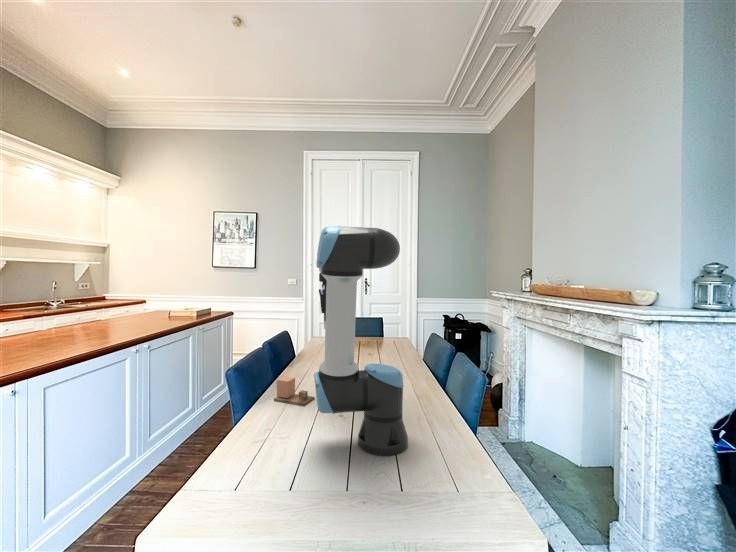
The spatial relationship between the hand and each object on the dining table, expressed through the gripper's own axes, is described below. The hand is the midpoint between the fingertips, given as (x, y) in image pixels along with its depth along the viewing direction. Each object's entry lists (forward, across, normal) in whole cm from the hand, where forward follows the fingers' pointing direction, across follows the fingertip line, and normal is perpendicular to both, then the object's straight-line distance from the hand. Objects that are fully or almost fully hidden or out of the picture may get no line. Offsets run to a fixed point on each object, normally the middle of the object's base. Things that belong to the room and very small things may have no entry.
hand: (327, 328), depth 144 cm
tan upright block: (+27, -8, +14) cm, 31 cm away
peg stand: (+28, -9, +10) cm, 31 cm away
